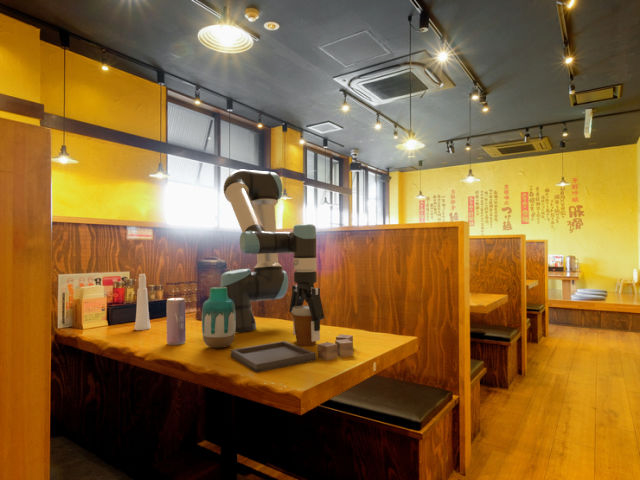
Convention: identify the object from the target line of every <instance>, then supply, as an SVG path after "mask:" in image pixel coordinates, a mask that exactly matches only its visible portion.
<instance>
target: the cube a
mask: <svg viewBox="0 0 640 480" xmlns="http://www.w3.org/2000/svg"><path fill="white" fill-rule="evenodd" d="M316 347H317V351H316V353H317V359H320V360H322V359H323V361H327V362H328V361H332V360H335V358H336V359H338V355H337V344H335V342H329V341H326V342H321V343H318V344H317V346H316Z"/></svg>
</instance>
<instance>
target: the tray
mask: <svg viewBox="0 0 640 480" xmlns="http://www.w3.org/2000/svg"><path fill="white" fill-rule="evenodd" d="M316 353H317V352H315V351H314V352H313V351H312V350H309V349H306V348H303V347H301V346H300V345H297V344H296V345H295V344H293V343H292V342H289V341H286V340H283V341H276V342H270V343H264V344H258V345H257V344H256V345H253V346H245V347H239V348H235V349H233V348H232V349H231V350H230V357H231V358H232V359H234V360H235V361H237V362H239V363H240V364H243V366H246V367H247V368H249V369H250V370H252V371H254V372H255V373H261V372H265V371H271V370H276V369H280V368H284V367H289V366H294V365H295V366H296V365H300V364H304V363H309V362H310V363H311V362H315V361H316V359H317V357H316V356H317V355H316Z"/></svg>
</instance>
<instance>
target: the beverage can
mask: <svg viewBox="0 0 640 480" xmlns="http://www.w3.org/2000/svg"><path fill="white" fill-rule="evenodd" d="M186 328H187V327H186V299H185V298H184V297H171V298H167V299H166V344H167V345H168V346H179V345H183V344H185V342H186V341H187V339H186V332H187V331H186Z"/></svg>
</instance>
